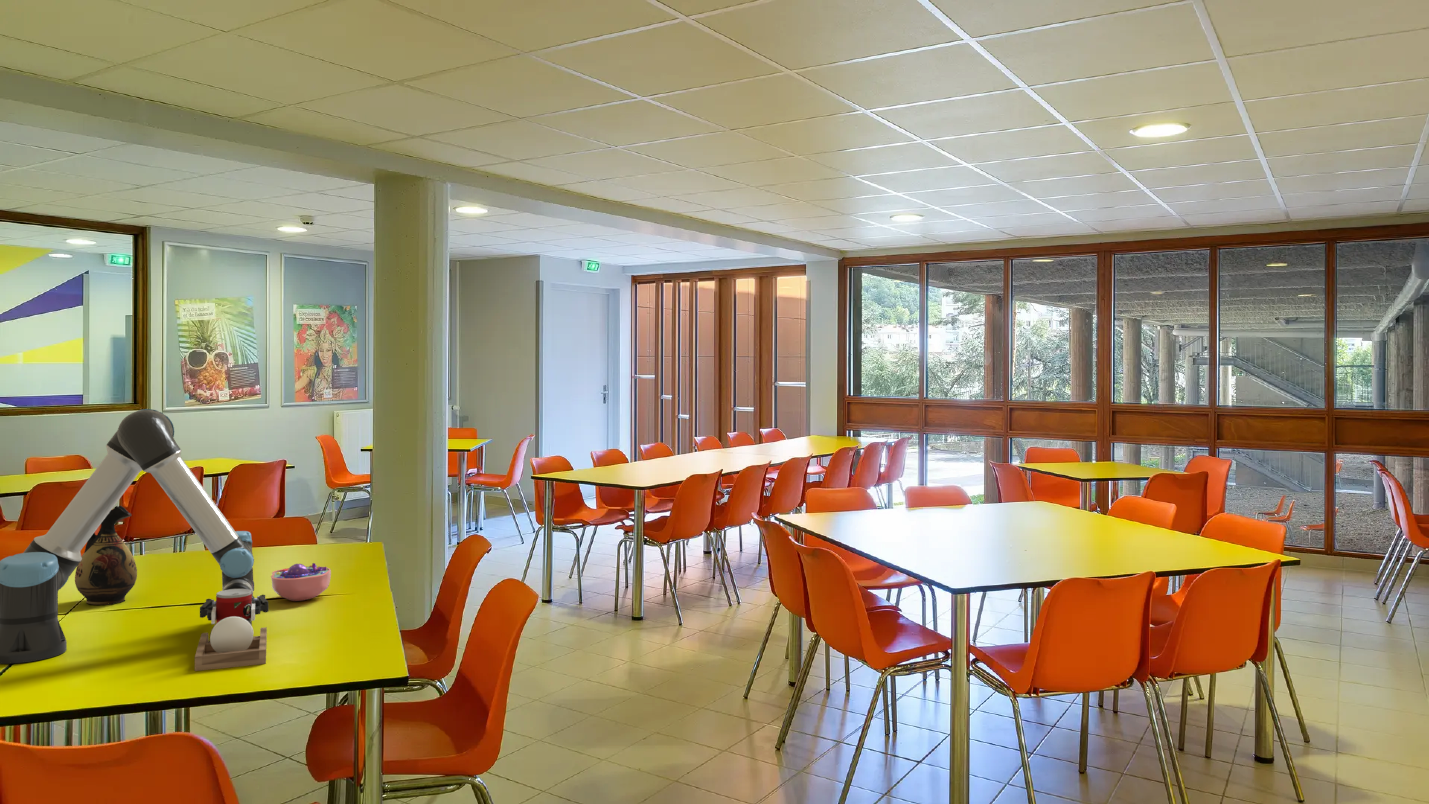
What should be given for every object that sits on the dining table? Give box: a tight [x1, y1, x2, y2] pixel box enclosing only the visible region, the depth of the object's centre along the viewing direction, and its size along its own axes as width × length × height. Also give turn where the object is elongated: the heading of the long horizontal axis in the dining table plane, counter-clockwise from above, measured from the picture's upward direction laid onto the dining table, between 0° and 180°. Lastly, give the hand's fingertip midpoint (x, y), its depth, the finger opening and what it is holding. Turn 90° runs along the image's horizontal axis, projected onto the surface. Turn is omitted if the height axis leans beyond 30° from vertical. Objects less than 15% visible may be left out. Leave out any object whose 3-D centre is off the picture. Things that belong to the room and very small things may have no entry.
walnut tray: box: [194, 626, 268, 672], centre depth 220 cm, size 22×14×3 cm, turn 26°
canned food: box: [215, 589, 253, 627], centre depth 225 cm, size 8×8×11 cm
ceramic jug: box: [74, 505, 138, 606], centre depth 272 cm, size 17×15×30 cm
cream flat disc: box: [209, 616, 255, 653], centre depth 216 cm, size 1×9×9 cm, turn 116°
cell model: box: [270, 562, 332, 602], centre depth 279 cm, size 17×20×11 cm
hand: (233, 616), depth 221 cm, fingers closed on canned food, 8 cm apart
